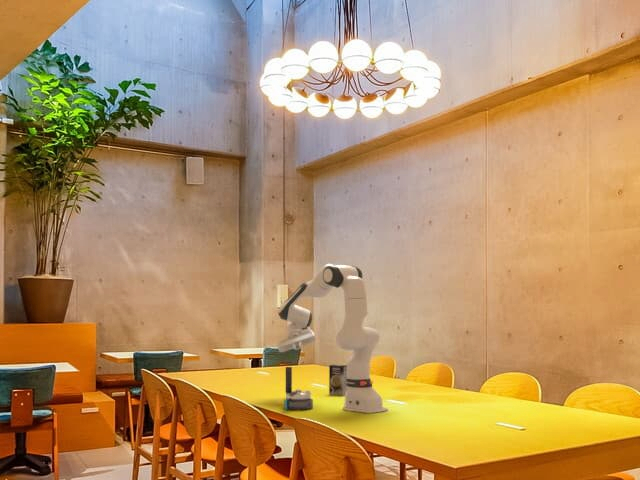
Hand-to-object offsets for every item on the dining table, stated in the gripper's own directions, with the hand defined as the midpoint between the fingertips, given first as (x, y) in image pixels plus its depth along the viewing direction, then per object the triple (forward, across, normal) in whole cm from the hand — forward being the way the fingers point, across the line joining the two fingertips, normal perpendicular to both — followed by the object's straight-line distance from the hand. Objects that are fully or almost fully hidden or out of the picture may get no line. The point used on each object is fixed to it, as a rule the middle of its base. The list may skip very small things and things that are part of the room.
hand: (297, 348), depth 341 cm
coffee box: (-16, +12, +43) cm, 47 cm away
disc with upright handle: (+24, -7, +14) cm, 29 cm away
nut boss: (+24, -8, +18) cm, 32 cm away
